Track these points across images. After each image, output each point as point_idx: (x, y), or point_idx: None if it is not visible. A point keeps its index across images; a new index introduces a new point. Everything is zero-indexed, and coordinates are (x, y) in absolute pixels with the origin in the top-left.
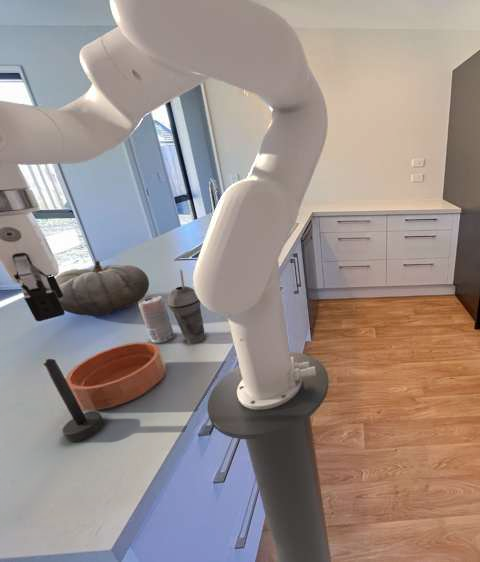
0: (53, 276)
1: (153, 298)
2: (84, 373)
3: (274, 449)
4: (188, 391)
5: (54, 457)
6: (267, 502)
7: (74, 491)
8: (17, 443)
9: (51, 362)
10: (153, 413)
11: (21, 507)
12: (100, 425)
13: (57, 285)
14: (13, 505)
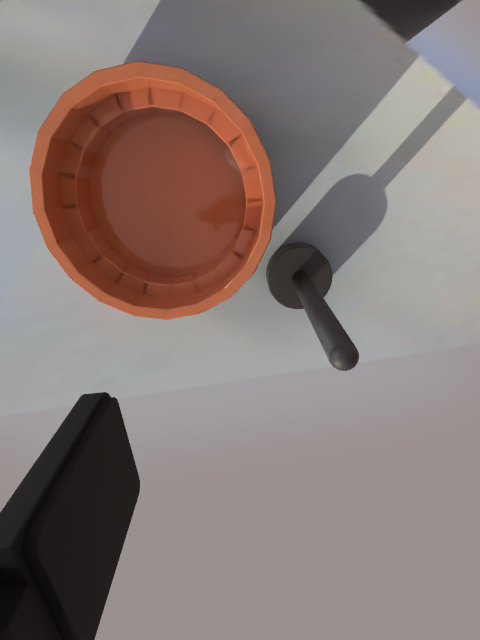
0: (3, 550)
1: None
2: (113, 283)
3: None
4: (327, 40)
5: (336, 313)
6: (412, 36)
7: (453, 280)
8: (244, 367)
9: (357, 351)
10: (349, 143)
11: (418, 340)
12: (315, 248)
13: (62, 460)
14: (404, 349)
